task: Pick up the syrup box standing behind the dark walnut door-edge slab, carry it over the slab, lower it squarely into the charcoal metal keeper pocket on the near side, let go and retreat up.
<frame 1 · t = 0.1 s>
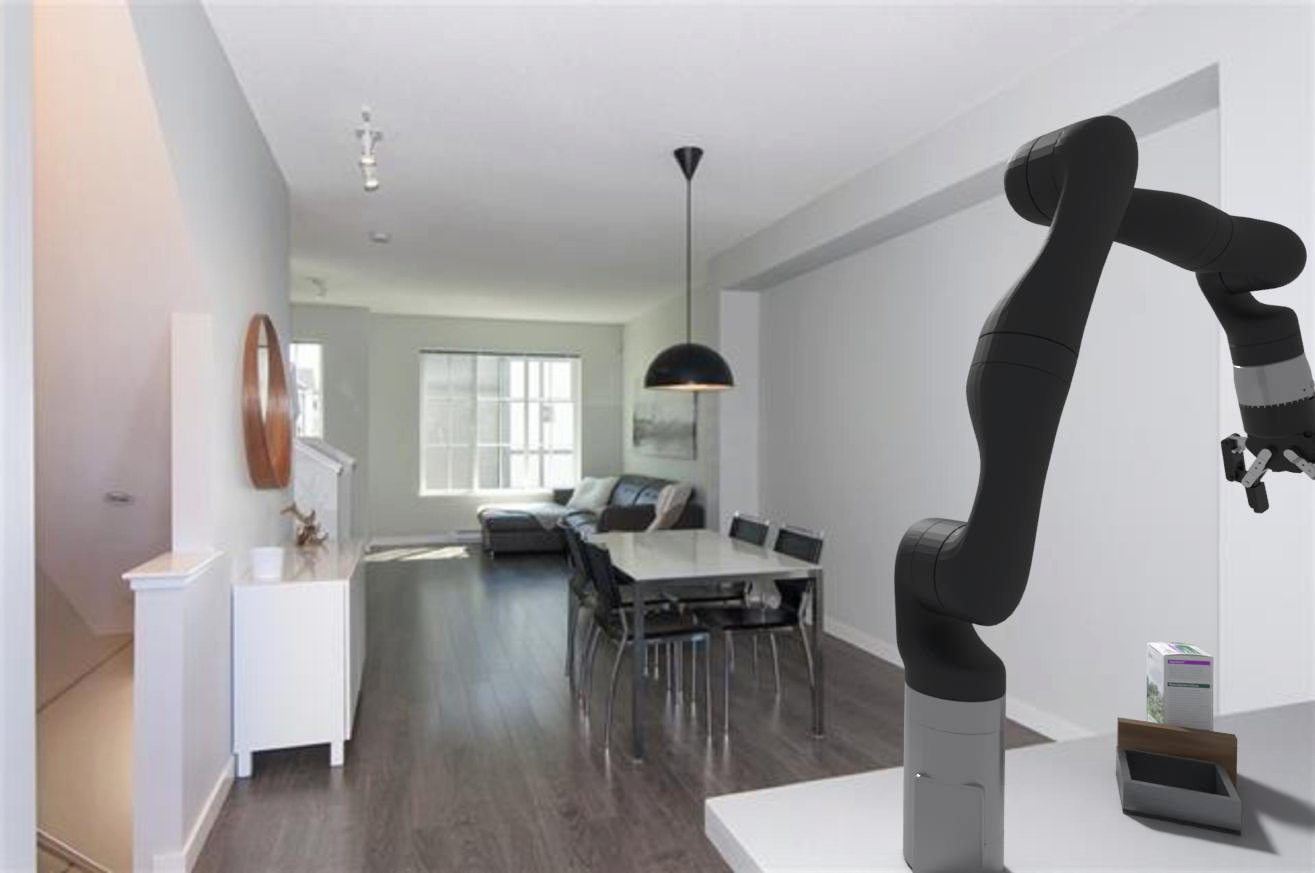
hand: (1299, 514, 100), 31 cm above the counter, tool tilted 20°, fingers open, 8 cm apart
door edge slab: (1174, 776, 96), on the counter
syrup box: (1177, 763, 100), on the counter
keeper pocket: (1173, 802, 90), on the counter
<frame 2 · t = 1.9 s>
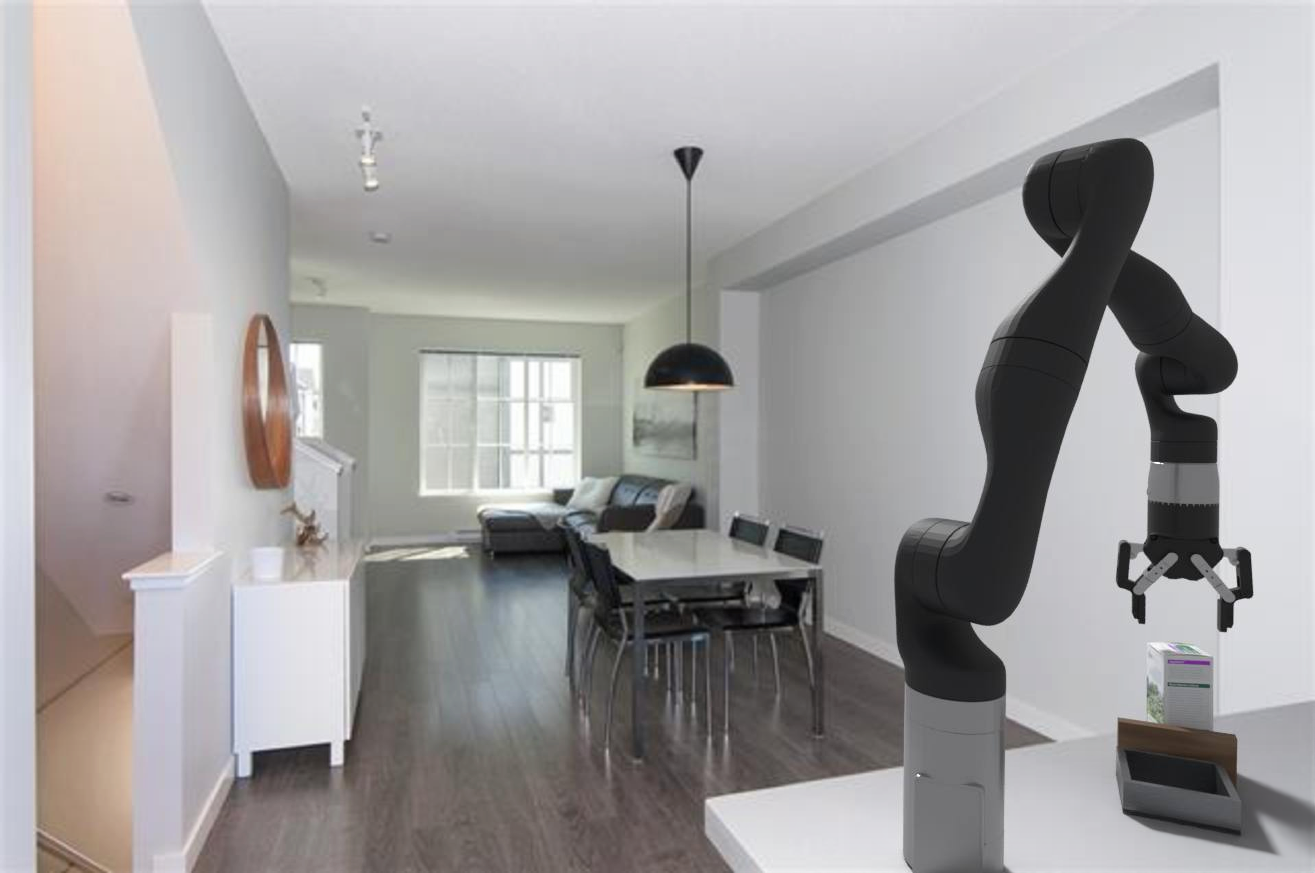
hand: (1181, 626, 100), 17 cm above the counter, tool pointing down, fingers open, 8 cm apart
nothing on the counter moved.
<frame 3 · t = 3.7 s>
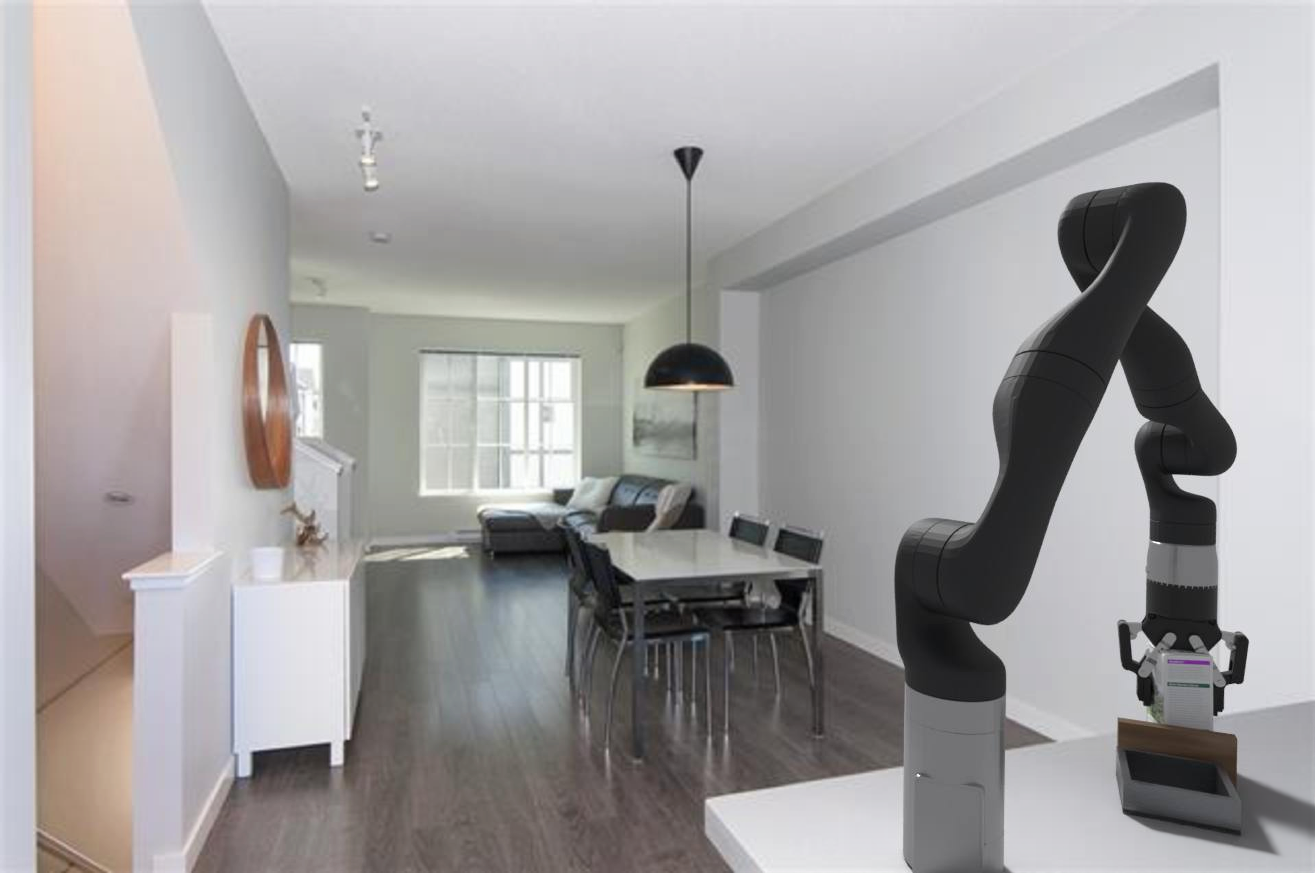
hand: (1179, 708, 100), 7 cm above the counter, tool pointing down, fingers closed on syrup box, 6 cm apart
syrup box: (1178, 763, 100), on the counter, touching gripper
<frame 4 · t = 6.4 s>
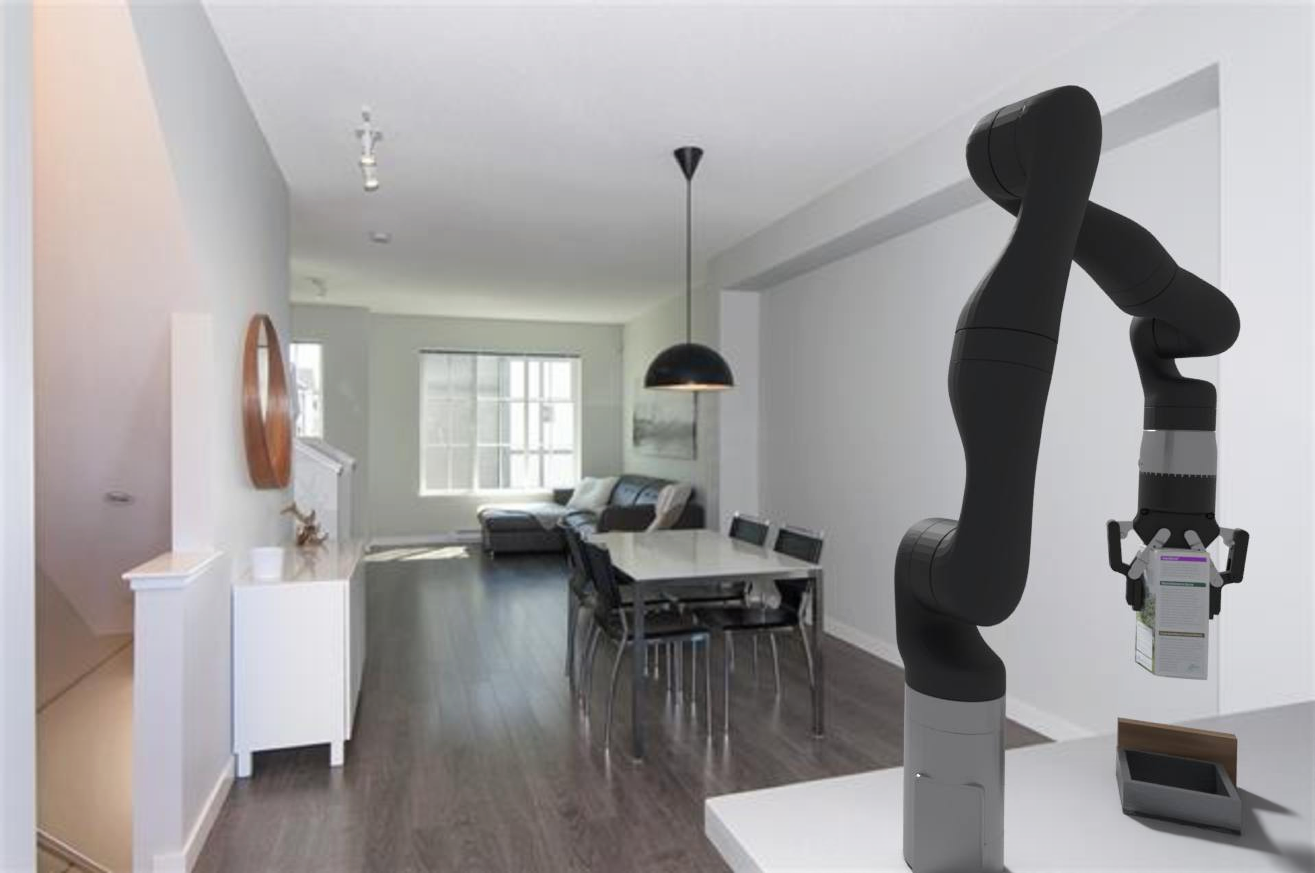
hand: (1171, 613, 92), 21 cm above the counter, tool pointing down, fingers closed on syrup box, 6 cm apart
syrup box: (1169, 673, 92), point 14 cm above the counter, touching gripper
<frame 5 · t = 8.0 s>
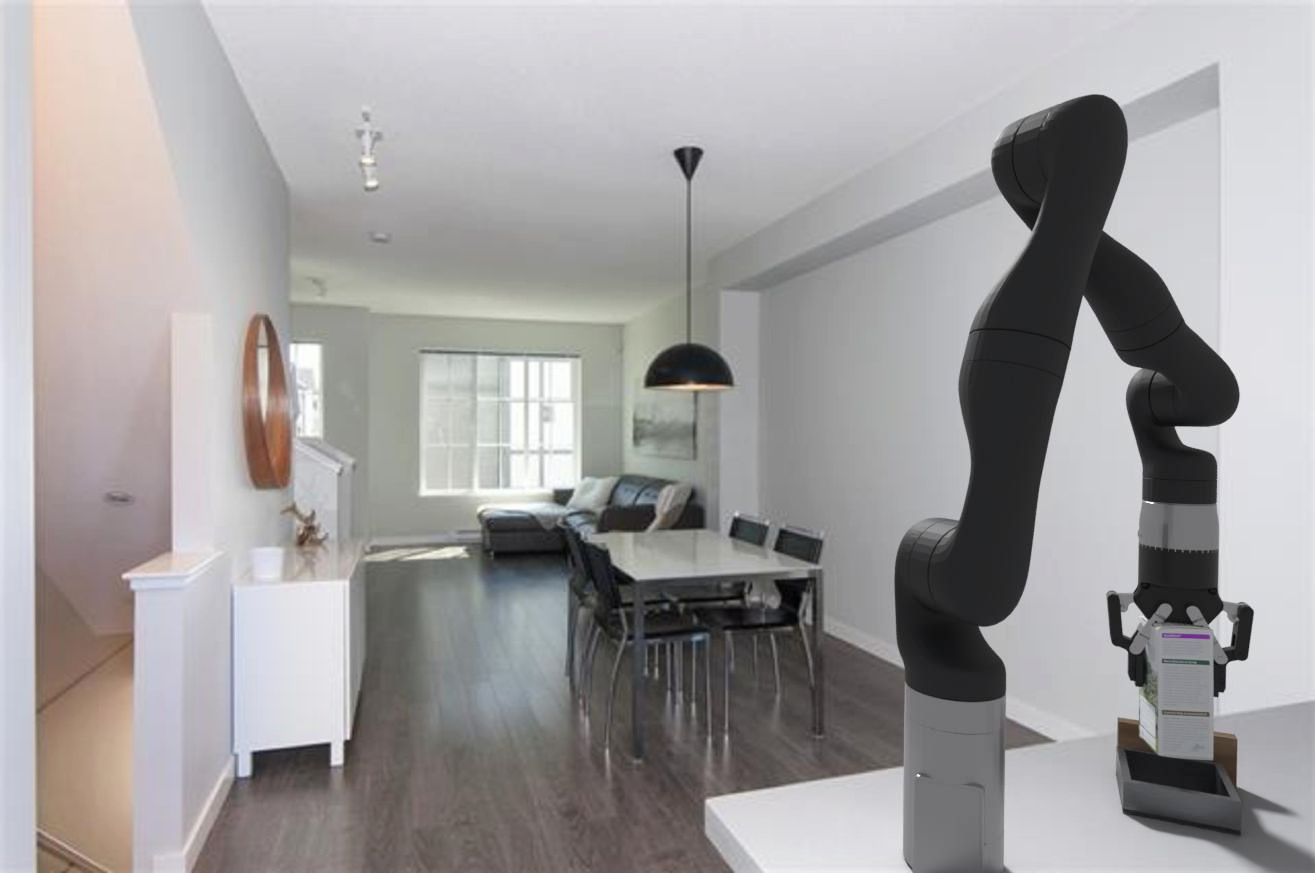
hand: (1175, 689, 89), 13 cm above the counter, tool pointing down, fingers closed on syrup box, 6 cm apart
syrup box: (1174, 750, 89), point 6 cm above the counter, touching gripper
when the fingers open (9 cm above the counter, at t = 9.4 s): syrup box drops 1 cm, resting on keeper pocket.
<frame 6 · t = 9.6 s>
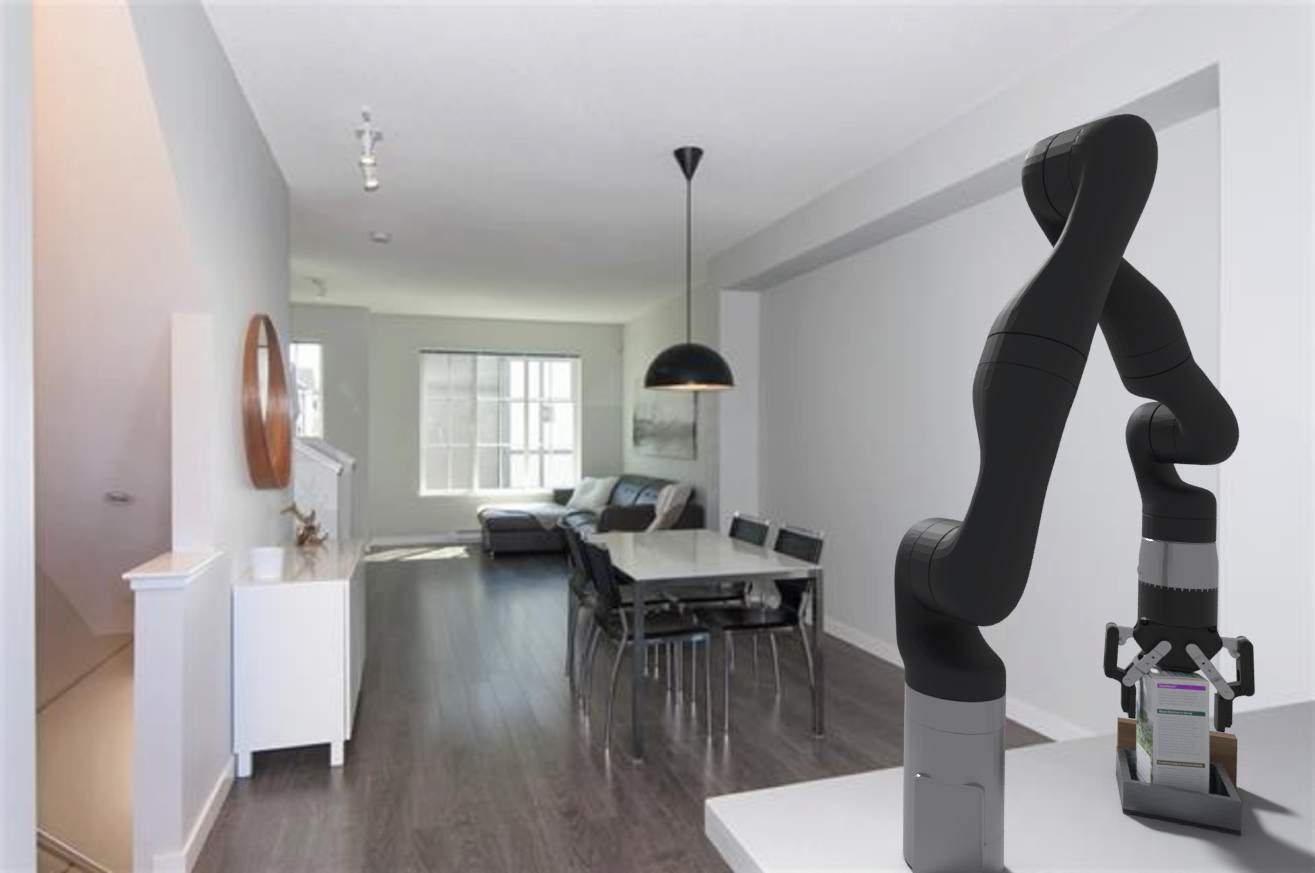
hand: (1174, 723, 89), 9 cm above the counter, tool pointing down, fingers open, 8 cm apart
syrup box: (1170, 799, 90), resting on keeper pocket
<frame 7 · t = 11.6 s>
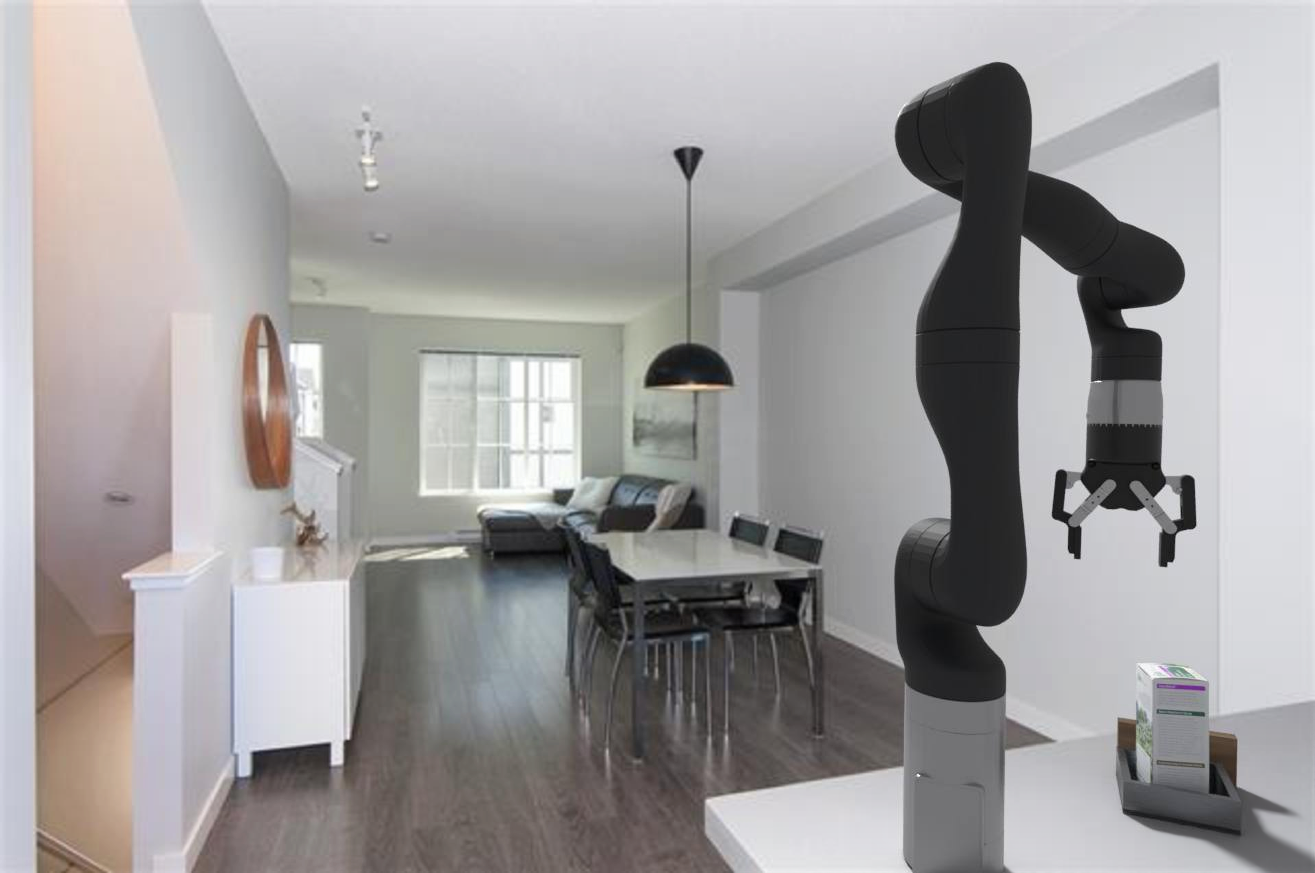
hand: (1119, 562, 91), 27 cm above the counter, tool pointing down, fingers open, 8 cm apart
nothing on the counter moved.
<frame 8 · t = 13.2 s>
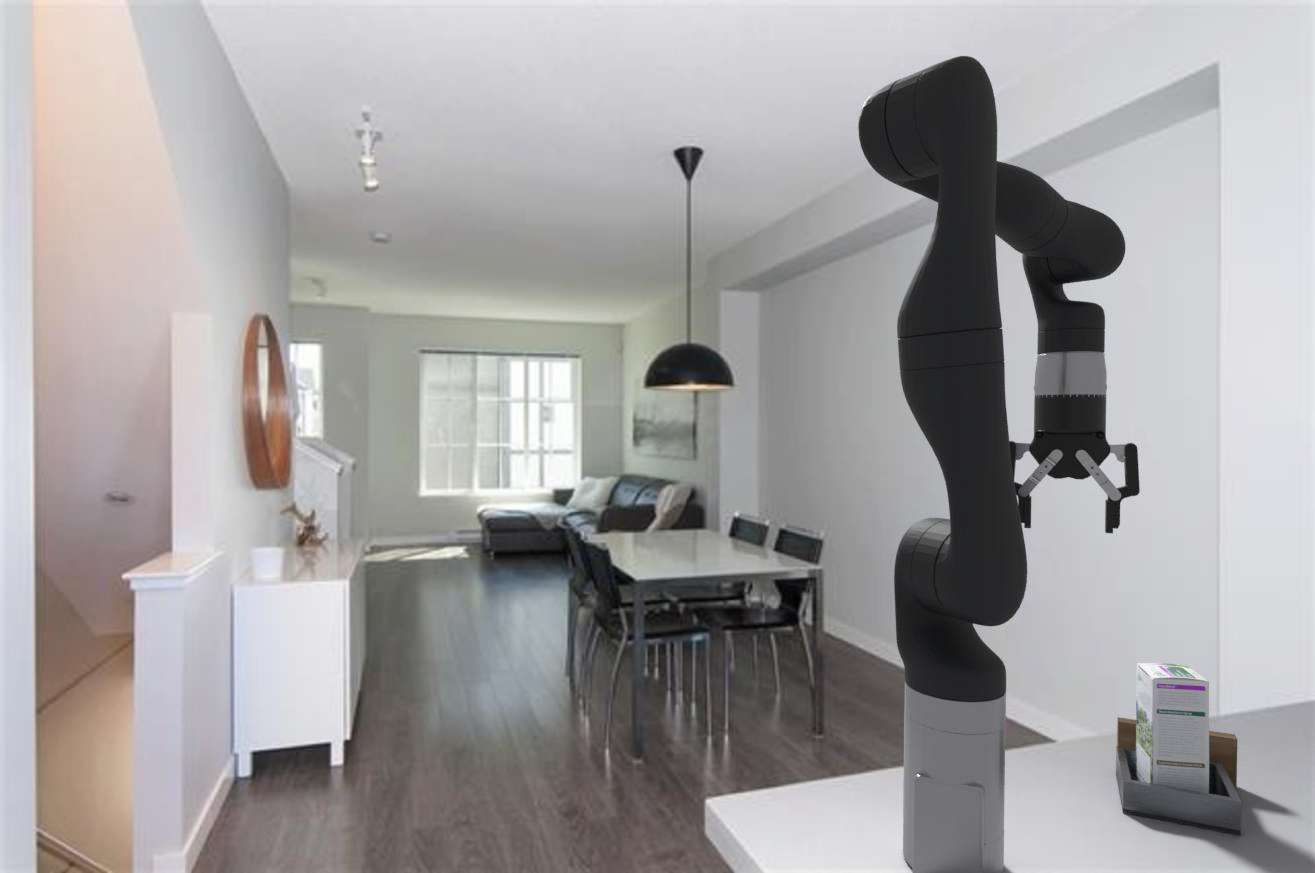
hand: (1067, 530, 94), 30 cm above the counter, tool pointing down, fingers open, 8 cm apart
nothing on the counter moved.
at the end: syrup box 0.3 cm off-centre on the keeper pocket, point 0.3 cm above the keeper pocket's base; syrup box tilted 0°; the gripper is holding nothing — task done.
